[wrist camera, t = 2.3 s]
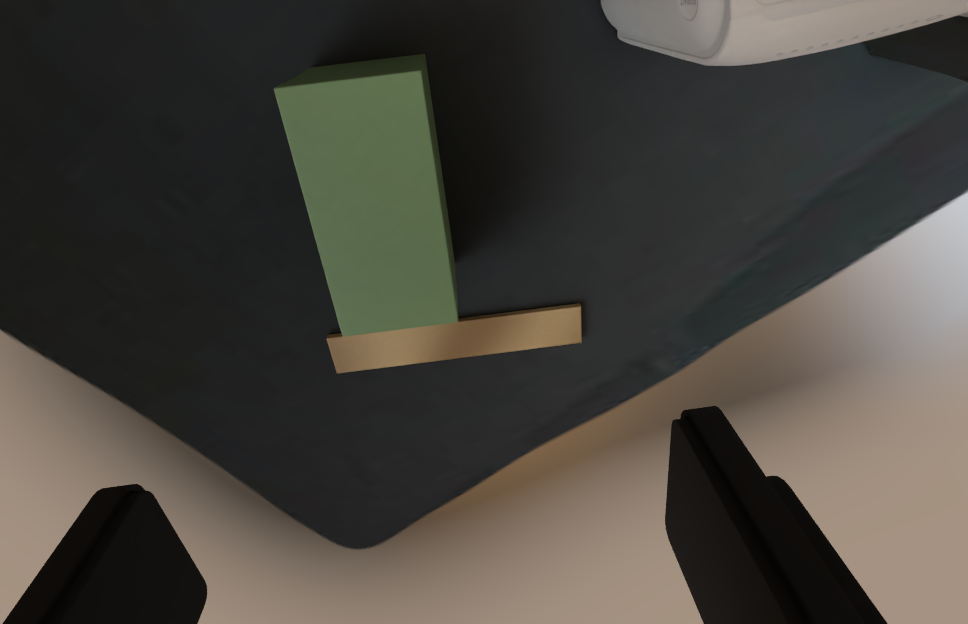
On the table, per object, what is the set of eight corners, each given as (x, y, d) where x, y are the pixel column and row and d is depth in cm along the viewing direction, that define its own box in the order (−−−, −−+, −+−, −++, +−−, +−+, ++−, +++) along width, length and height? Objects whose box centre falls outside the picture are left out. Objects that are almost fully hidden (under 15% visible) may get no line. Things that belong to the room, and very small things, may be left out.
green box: (359, 275, 29) (342, 337, 23) (309, 67, 24) (272, 88, 18) (455, 263, 29) (458, 322, 24) (424, 53, 24) (421, 69, 18)
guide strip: (337, 369, 31) (336, 373, 31) (327, 334, 30) (326, 338, 30) (580, 339, 32) (581, 342, 31) (579, 302, 30) (581, 306, 30)
